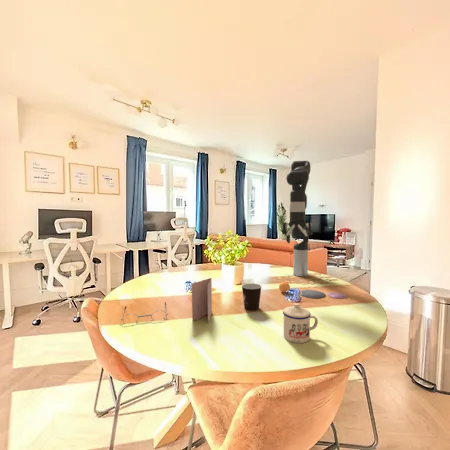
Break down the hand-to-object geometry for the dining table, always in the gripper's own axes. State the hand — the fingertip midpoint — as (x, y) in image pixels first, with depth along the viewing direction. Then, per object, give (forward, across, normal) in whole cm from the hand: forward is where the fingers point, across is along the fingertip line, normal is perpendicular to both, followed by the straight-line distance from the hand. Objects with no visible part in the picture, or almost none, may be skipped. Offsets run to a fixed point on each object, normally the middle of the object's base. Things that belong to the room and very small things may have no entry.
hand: (297, 243), depth 130 cm
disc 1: (+27, -6, -6) cm, 28 cm away
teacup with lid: (+27, -12, +43) cm, 52 cm away
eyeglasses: (+27, +52, +52) cm, 79 cm away
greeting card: (+27, +25, +45) cm, 58 cm away
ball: (+24, +7, -2) cm, 25 cm away
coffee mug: (+27, +14, +25) cm, 39 cm away
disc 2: (+27, -18, -9) cm, 34 cm away
